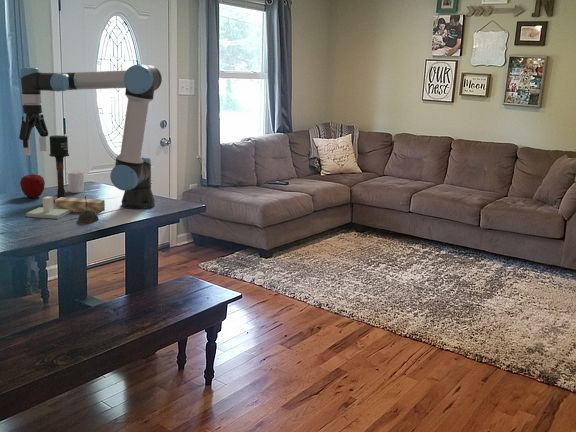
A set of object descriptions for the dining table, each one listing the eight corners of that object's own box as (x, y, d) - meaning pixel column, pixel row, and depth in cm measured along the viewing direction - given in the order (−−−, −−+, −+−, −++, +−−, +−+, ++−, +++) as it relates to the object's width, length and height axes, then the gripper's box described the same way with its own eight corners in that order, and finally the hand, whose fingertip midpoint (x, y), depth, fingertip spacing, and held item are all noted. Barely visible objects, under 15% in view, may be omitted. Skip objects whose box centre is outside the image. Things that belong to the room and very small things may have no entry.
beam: (104, 210, 266) (104, 200, 265) (99, 213, 260) (99, 202, 259) (61, 208, 268) (61, 197, 266) (55, 211, 262) (54, 200, 261)
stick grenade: (64, 202, 277) (61, 137, 270) (48, 200, 279) (44, 136, 271) (74, 198, 285) (72, 136, 278) (58, 197, 287) (55, 134, 279)
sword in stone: (82, 217, 252) (82, 190, 249) (100, 219, 252) (101, 192, 249) (73, 223, 243) (73, 195, 240) (92, 225, 242) (92, 197, 240)
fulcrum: (70, 212, 259) (69, 195, 257) (58, 218, 248) (57, 201, 246) (39, 210, 260) (38, 193, 258) (26, 216, 249) (25, 199, 248)
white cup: (64, 191, 298) (63, 172, 296) (75, 189, 305) (75, 170, 303) (77, 193, 295) (76, 174, 293) (88, 191, 302) (87, 171, 300)
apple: (21, 195, 286) (19, 171, 283) (45, 194, 290) (43, 171, 287) (21, 200, 276) (19, 175, 273) (45, 199, 280) (44, 175, 277)
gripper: (38, 102, 269) (41, 149, 274) (7, 105, 245) (11, 156, 250) (54, 102, 268) (57, 149, 273) (24, 106, 244) (28, 157, 249)
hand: (35, 153), depth 262 cm, fingers open, 13 cm apart
